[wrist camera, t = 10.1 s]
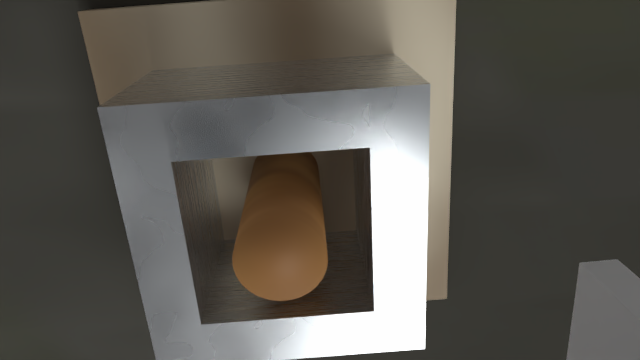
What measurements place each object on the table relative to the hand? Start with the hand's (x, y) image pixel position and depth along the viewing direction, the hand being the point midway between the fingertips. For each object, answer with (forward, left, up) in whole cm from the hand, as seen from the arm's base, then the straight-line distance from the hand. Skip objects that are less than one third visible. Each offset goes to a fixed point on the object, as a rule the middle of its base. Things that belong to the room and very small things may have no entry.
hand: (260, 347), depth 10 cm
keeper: (0, 0, -10) cm, 10 cm away
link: (0, 0, -9) cm, 9 cm away
